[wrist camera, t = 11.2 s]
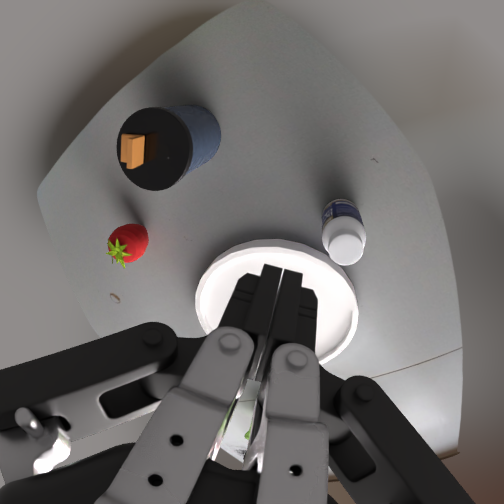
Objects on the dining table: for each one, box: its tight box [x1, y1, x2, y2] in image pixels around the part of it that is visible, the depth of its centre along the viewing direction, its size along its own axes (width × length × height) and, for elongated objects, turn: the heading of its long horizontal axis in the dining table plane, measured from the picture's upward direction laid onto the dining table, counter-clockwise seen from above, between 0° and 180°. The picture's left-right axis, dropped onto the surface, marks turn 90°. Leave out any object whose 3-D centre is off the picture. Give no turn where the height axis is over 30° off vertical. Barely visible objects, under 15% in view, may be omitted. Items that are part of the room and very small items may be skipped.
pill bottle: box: [322, 199, 366, 265], centre depth 35 cm, size 5×5×10 cm
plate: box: [195, 239, 359, 367], centre depth 49 cm, size 28×28×2 cm
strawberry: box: [106, 224, 149, 269], centre depth 43 cm, size 6×8×10 cm
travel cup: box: [117, 105, 221, 191], centre depth 33 cm, size 9×9×11 cm
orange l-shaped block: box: [121, 134, 145, 169], centre depth 27 cm, size 3×3×2 cm
